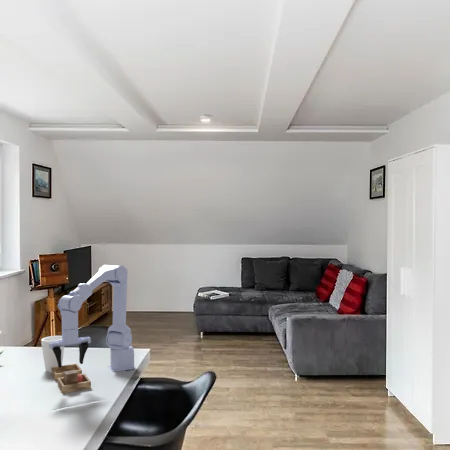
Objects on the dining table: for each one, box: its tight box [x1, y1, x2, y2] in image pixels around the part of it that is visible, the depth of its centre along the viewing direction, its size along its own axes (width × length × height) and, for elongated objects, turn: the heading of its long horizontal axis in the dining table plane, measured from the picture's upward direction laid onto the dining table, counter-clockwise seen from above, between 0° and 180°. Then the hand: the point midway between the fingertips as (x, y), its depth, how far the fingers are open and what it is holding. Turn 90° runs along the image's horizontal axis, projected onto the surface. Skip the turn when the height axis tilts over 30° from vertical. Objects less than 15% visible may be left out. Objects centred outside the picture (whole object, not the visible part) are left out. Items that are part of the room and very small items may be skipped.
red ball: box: [78, 375, 83, 383], centre depth 170 cm, size 3×3×3 cm
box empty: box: [50, 363, 83, 382], centre depth 181 cm, size 10×10×3 cm
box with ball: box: [57, 373, 92, 394], centre depth 168 cm, size 10×10×3 cm
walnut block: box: [64, 370, 78, 385], centre depth 166 cm, size 4×4×6 cm
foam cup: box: [40, 335, 65, 373], centre depth 190 cm, size 10×9×13 cm
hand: (70, 365), depth 166 cm, fingers open, 7 cm apart
